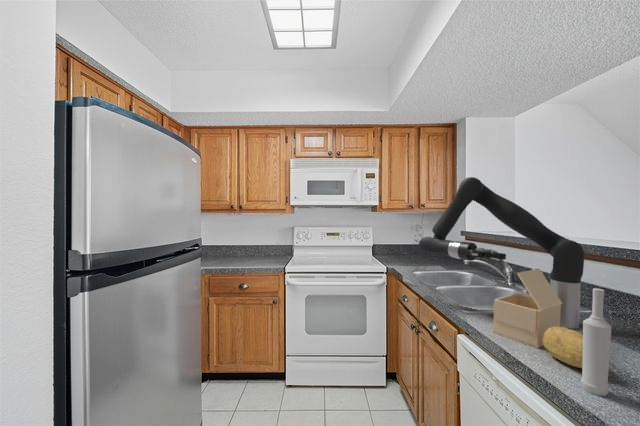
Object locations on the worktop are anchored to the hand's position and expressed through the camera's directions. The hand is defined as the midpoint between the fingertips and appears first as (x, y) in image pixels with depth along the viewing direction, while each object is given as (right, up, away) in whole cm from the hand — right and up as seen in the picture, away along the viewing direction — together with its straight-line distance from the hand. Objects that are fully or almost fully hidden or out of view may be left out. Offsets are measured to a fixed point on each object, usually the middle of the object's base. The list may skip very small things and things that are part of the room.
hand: (504, 256), depth 113 cm
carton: (+4, -27, -6) cm, 28 cm away
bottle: (-1, -27, -39) cm, 47 cm away
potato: (+3, -27, -26) cm, 38 cm away
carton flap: (+6, -9, -10) cm, 15 cm away
